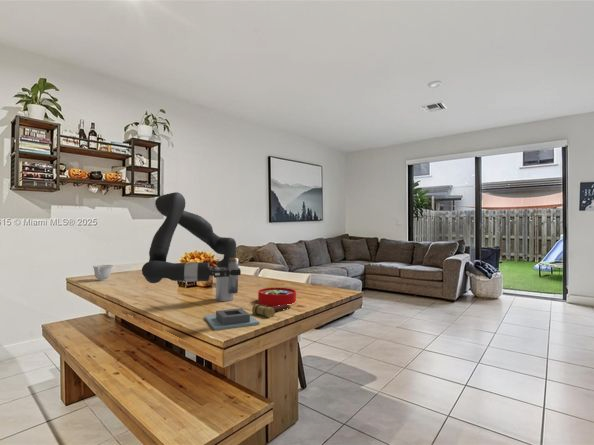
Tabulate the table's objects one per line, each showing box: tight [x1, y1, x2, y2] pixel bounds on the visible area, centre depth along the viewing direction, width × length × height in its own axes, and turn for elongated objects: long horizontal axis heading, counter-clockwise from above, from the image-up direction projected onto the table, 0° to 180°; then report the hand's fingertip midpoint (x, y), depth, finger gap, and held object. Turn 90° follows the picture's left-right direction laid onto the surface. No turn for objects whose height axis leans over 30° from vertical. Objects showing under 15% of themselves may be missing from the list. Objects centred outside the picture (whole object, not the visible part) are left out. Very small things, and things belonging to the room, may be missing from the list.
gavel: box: [251, 303, 292, 319], centre depth 150 cm, size 21×5×10 cm
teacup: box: [92, 264, 113, 282], centre depth 223 cm, size 12×15×10 cm
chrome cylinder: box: [228, 257, 240, 295], centre depth 132 cm, size 4×4×14 cm
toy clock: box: [257, 287, 297, 307], centre depth 170 cm, size 20×6×20 cm
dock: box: [204, 307, 260, 331], centre depth 134 cm, size 18×18×4 cm
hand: (240, 271), depth 133 cm, fingers closed on chrome cylinder, 4 cm apart
